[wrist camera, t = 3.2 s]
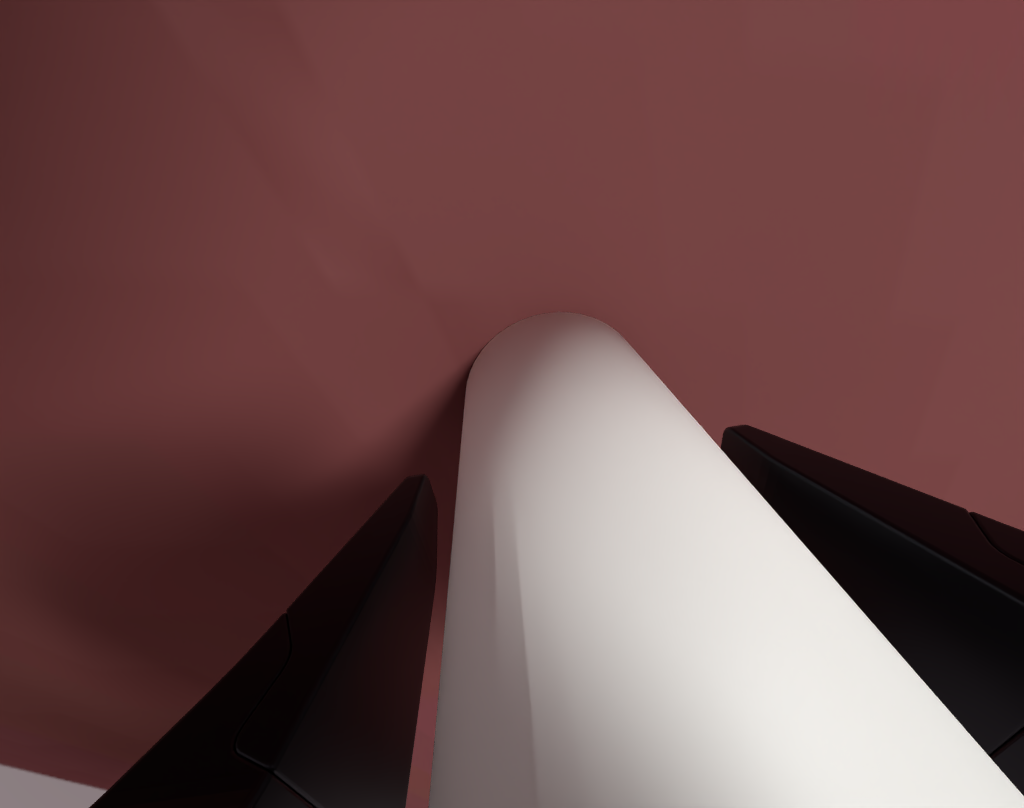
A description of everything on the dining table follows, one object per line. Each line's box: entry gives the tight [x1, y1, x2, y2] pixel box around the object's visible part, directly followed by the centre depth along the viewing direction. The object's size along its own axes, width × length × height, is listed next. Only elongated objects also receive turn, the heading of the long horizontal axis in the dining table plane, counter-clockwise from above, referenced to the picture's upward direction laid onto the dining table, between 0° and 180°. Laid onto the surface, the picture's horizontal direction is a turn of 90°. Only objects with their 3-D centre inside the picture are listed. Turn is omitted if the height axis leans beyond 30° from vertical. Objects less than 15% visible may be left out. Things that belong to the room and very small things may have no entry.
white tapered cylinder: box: [429, 312, 1024, 808], centre depth 7 cm, size 5×5×10 cm
